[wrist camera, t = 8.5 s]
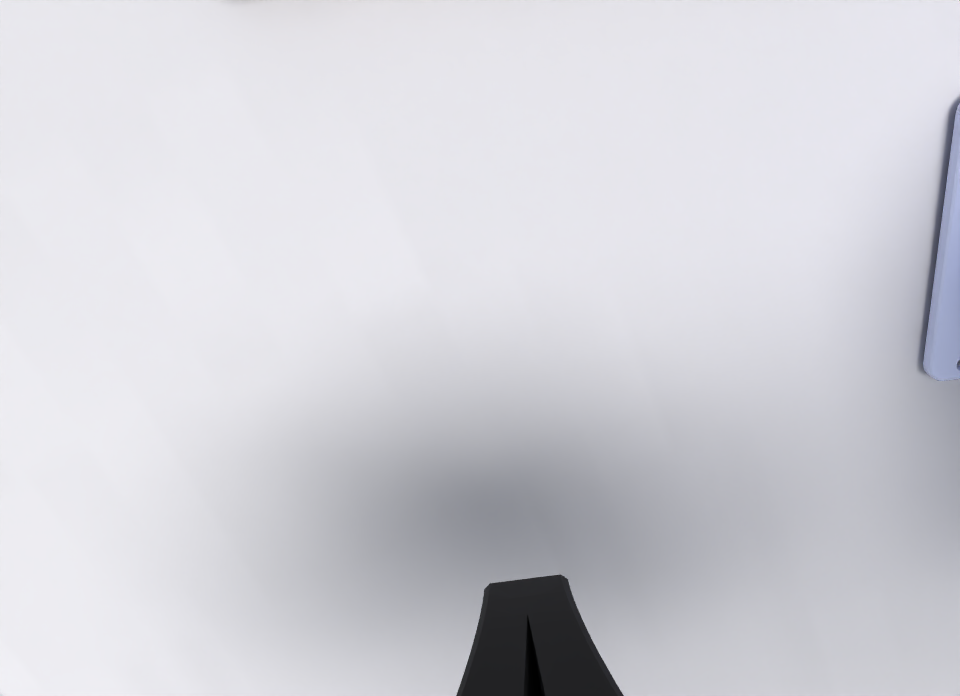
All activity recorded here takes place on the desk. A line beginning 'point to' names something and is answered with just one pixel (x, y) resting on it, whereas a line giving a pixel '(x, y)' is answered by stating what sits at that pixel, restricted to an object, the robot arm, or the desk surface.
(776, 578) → the desk surface
